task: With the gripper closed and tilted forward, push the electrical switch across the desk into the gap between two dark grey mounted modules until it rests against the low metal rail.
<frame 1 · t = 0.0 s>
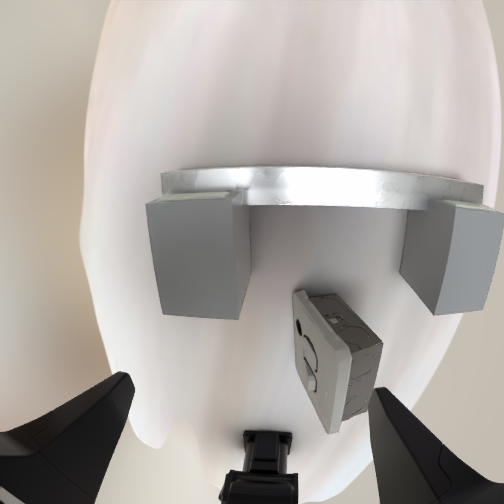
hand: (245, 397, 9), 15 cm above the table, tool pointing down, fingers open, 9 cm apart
rail: (334, 175, 20), on the table
mounted modules: (332, 231, 21), on the table
electrical switch: (323, 326, 24), on the table
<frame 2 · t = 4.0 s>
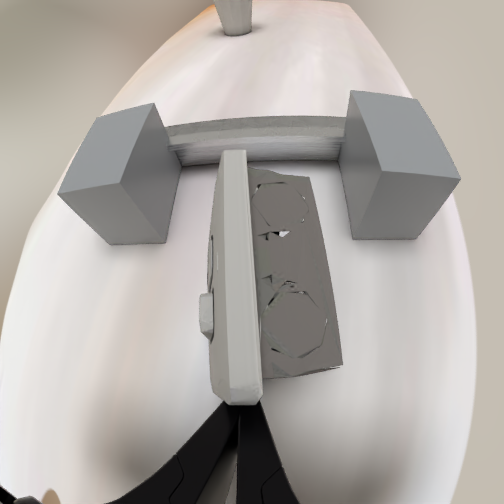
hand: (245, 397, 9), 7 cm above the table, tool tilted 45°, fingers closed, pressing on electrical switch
cup: (238, 33, 37), on the table
rail: (258, 154, 22), on the table
mounted modules: (257, 196, 20), on the table
electrical switch: (254, 311, 17), on the table, touching gripper
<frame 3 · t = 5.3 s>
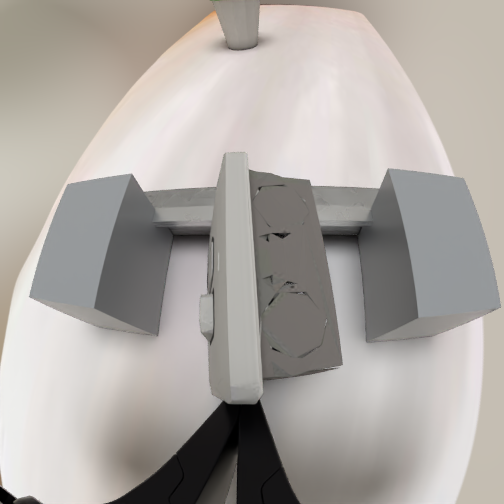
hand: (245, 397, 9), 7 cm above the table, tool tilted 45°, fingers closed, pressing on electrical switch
cup: (242, 46, 34), on the table
rail: (264, 225, 19), on the table
mounted modules: (261, 286, 17), on the table
electrical switch: (254, 314, 17), on the table, touching gripper
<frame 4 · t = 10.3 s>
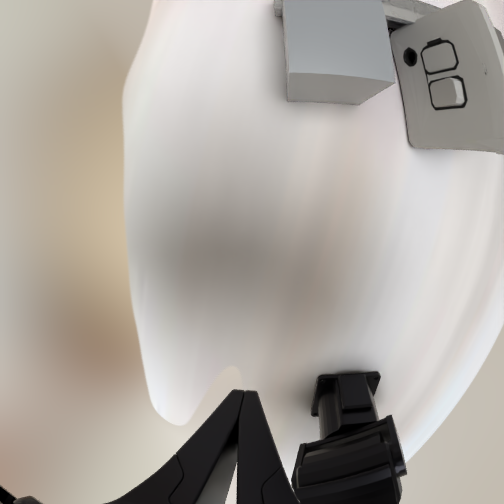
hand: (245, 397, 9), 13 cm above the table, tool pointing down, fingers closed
rail: (423, 30, 13), on the table
mounted modules: (431, 75, 14), on the table
electrical switch: (427, 88, 15), on the table
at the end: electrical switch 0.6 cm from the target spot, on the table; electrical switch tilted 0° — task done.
